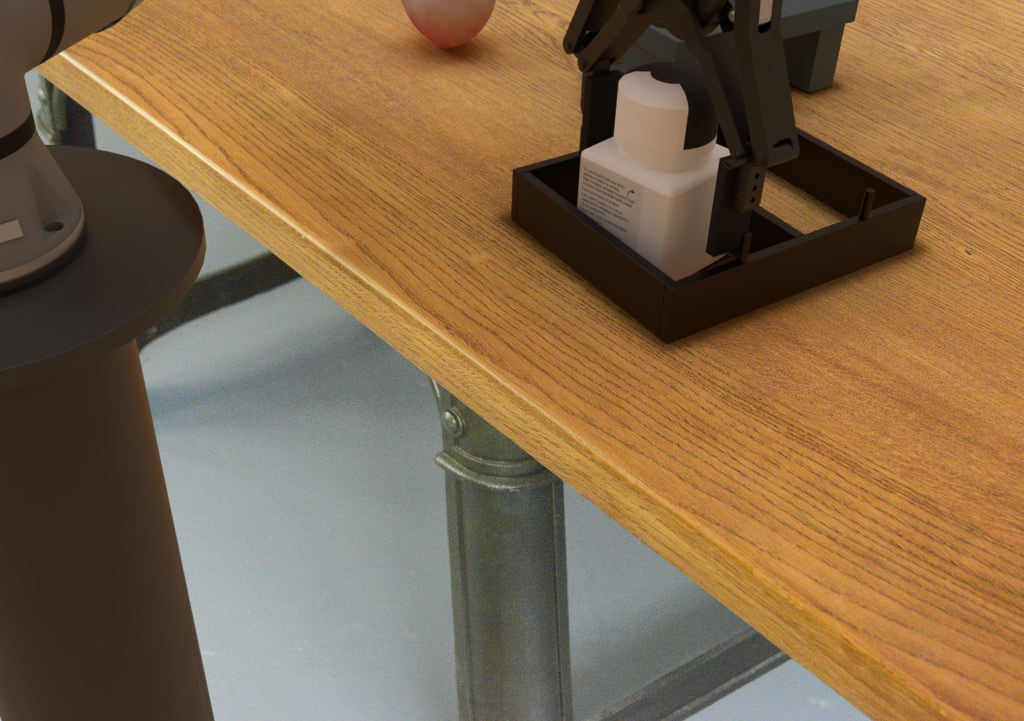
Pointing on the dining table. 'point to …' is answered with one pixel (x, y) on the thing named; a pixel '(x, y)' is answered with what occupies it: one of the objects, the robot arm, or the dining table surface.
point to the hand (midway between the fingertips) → (657, 203)
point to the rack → (761, 255)
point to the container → (657, 168)
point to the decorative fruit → (449, 19)
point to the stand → (805, 34)
